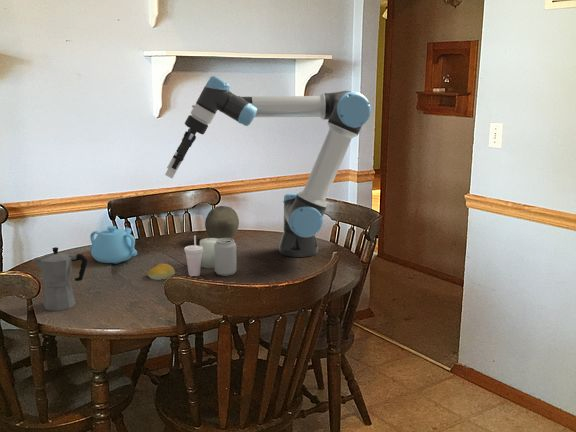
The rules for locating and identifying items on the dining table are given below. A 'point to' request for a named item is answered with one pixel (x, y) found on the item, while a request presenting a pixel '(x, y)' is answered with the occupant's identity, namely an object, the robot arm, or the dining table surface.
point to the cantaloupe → (222, 222)
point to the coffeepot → (59, 278)
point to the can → (225, 256)
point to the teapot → (113, 245)
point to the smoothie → (194, 258)
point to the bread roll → (161, 272)
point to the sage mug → (208, 252)
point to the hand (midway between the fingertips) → (169, 173)
